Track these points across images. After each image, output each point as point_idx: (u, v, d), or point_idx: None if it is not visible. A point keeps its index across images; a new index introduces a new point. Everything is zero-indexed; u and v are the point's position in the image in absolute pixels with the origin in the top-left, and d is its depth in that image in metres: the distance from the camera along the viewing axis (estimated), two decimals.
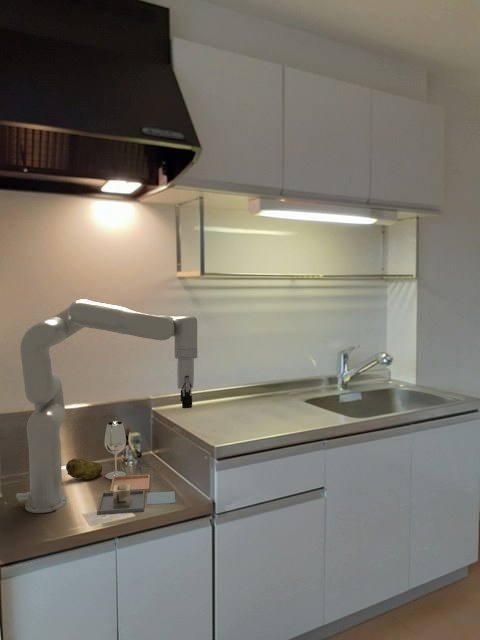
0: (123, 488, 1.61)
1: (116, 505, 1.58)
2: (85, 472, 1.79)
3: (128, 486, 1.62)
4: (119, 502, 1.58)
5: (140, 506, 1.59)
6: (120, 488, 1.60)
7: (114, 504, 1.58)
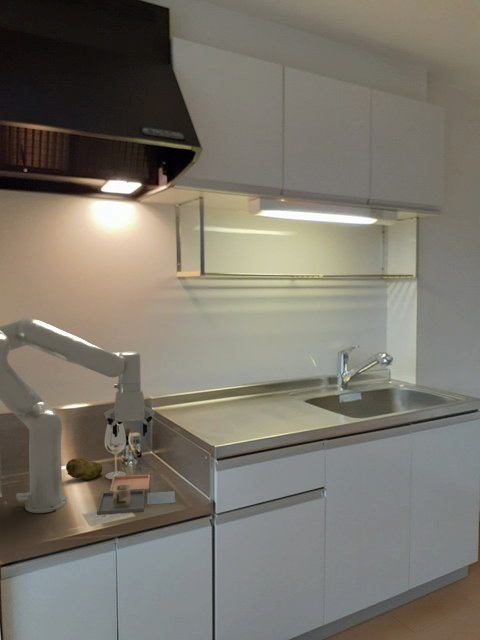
0: (123, 488, 1.61)
1: (116, 505, 1.58)
2: (85, 472, 1.79)
3: (128, 486, 1.62)
4: (119, 502, 1.58)
5: (140, 506, 1.59)
6: (120, 488, 1.60)
7: (114, 504, 1.58)
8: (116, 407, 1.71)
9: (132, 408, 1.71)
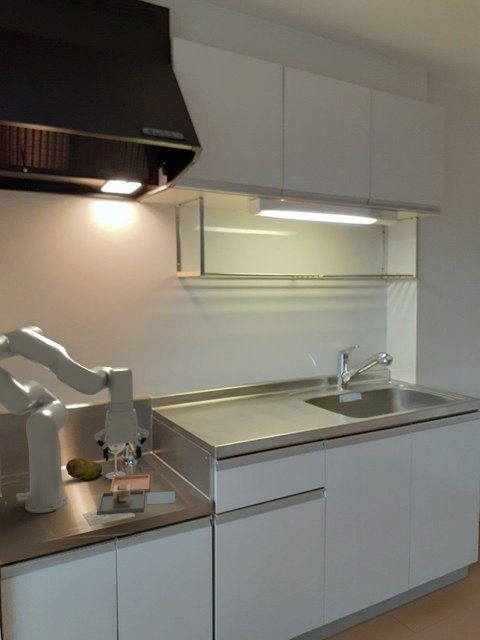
0: (123, 488, 1.61)
1: (116, 505, 1.58)
2: (85, 472, 1.79)
3: (128, 486, 1.62)
4: (119, 502, 1.58)
5: (140, 506, 1.59)
6: (120, 488, 1.60)
7: (114, 504, 1.58)
8: (107, 429, 1.56)
9: (124, 429, 1.57)
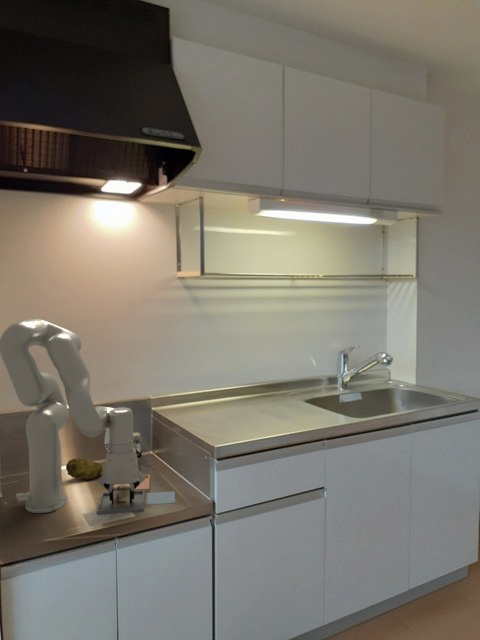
0: (123, 488, 1.61)
1: (116, 505, 1.58)
2: (85, 472, 1.79)
3: (128, 486, 1.62)
4: (119, 502, 1.58)
5: (140, 506, 1.59)
6: (120, 488, 1.60)
7: (114, 504, 1.58)
8: (107, 469, 1.57)
9: (124, 470, 1.58)
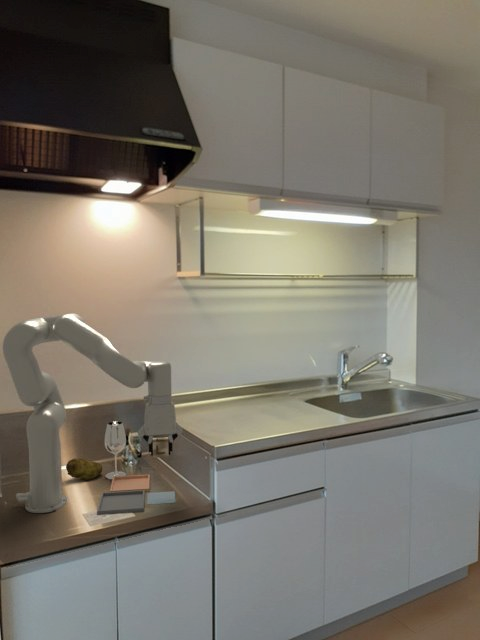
0: (162, 440, 1.64)
1: (155, 456, 1.61)
2: (85, 472, 1.79)
3: (166, 438, 1.65)
4: (158, 453, 1.61)
5: (140, 506, 1.59)
6: (159, 440, 1.63)
7: (153, 454, 1.61)
8: (146, 421, 1.60)
9: (163, 422, 1.61)
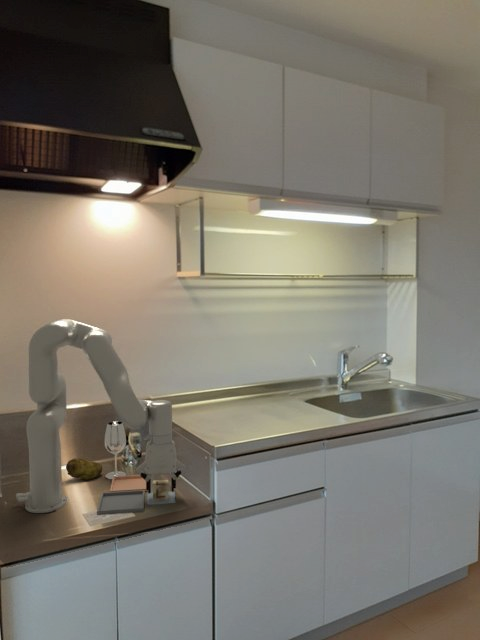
0: (162, 483, 1.65)
1: (155, 499, 1.62)
2: (85, 472, 1.79)
3: (166, 481, 1.66)
4: (158, 496, 1.62)
5: (140, 506, 1.59)
6: (159, 483, 1.64)
7: (153, 498, 1.62)
8: (147, 460, 1.61)
9: (164, 461, 1.62)
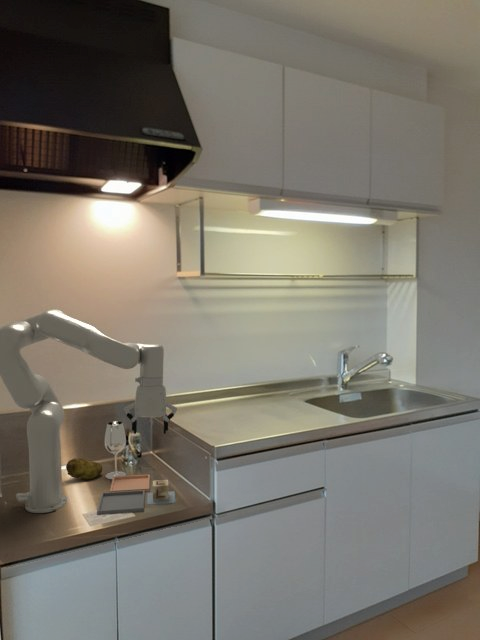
0: (162, 483, 1.65)
1: (155, 499, 1.62)
2: (85, 472, 1.79)
3: (166, 481, 1.66)
4: (158, 496, 1.62)
5: (140, 506, 1.59)
6: (159, 483, 1.64)
7: (153, 498, 1.62)
8: (137, 402, 1.61)
9: (153, 404, 1.62)
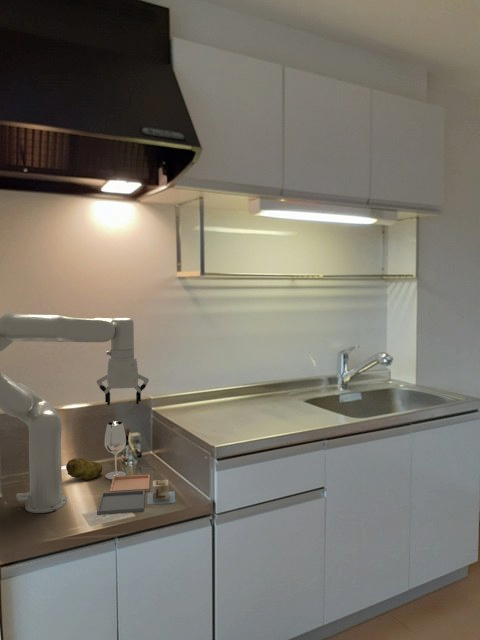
0: (162, 483, 1.65)
1: (155, 499, 1.62)
2: (85, 472, 1.79)
3: (166, 481, 1.66)
4: (158, 496, 1.62)
5: (140, 506, 1.59)
6: (159, 483, 1.64)
7: (153, 498, 1.62)
8: (109, 374, 1.67)
9: (125, 375, 1.67)
